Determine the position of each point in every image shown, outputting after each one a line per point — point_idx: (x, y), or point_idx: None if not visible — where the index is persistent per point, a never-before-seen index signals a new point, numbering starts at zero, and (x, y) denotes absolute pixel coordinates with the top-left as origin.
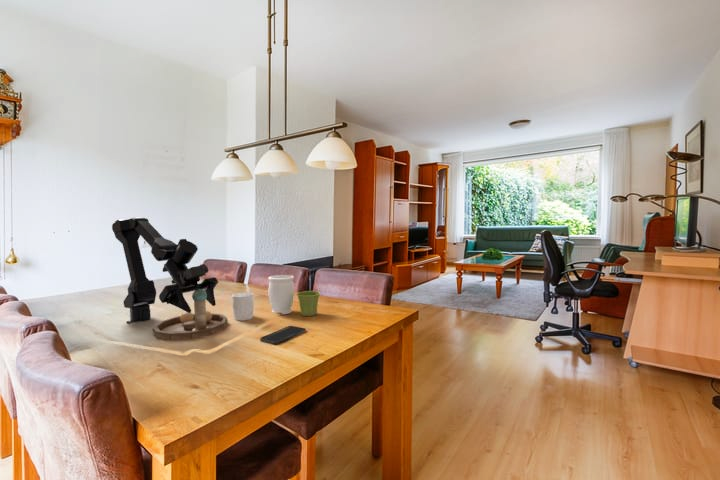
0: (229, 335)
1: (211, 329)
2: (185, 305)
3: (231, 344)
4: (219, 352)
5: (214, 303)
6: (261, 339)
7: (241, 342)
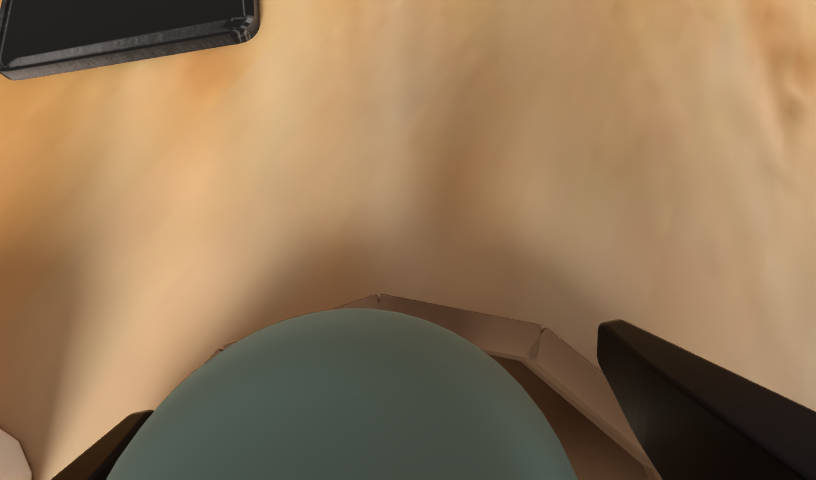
0: (289, 242)
1: (376, 296)
2: (750, 382)
3: (381, 97)
4: (486, 47)
5: (140, 420)
6: (254, 12)
7: (328, 83)
